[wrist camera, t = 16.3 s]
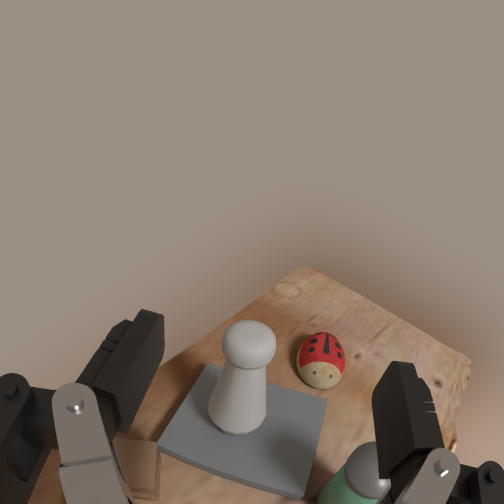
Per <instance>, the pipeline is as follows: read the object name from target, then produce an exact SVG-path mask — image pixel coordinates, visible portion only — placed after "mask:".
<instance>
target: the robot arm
mask: <svg viewBox="0 0 504 504" xmlns="http://www.w3.org/2000/svg"><path fill="white" fill-rule="evenodd" d="M164 345H165V342H164V316H163V315H162V314H158V313H155V312H152V311H148V310H144V309H142V310H140V312H139V313H138V315H137V316H136V318H135V319H134V321H133V322H132V321H129V320H126V319H125V320H123V321H122V322H120V323H119V324H117V325H116V326H114V327H113V328H112V329H111V331H110V332H109V334H108V335H107V337H106V339H105V340H104V341H103V342H102V344H101V345H100V348H99V349H98V350H97V351H96V353H95V354H94V355H93V357H92V358H91V360H90V361H89V363H88V364H87V366H86V368H85V369H84V370H83V372H82V373H81V375H80V376H79V378H78V379H77V381H76V382H74V383H69V384H66V385H63V386H61V387H60V388H59V389H57V390H48V389H42V388H35V387H30V385H29V384H28V382H27V380H26V379H25V378H24V377H23V376H21V375H19V374H15V373H9V374H5V375H3V376H1V377H0V504H27V503H28V500H29V498H30V495H31V493H32V491H33V488H34V486H35V484H36V481H37V479H38V477H39V475H40V472H41V470H42V468H43V466H44V464H45V461H46V459H47V457H48V455H49V453H50V451H51V449H52V448H53V449H59V451H60V456H61V465H60V466H59V476H60V480H61V484H62V488H63V492H64V496H65V499H66V503H67V504H136V503H135V500H134V498H133V496H132V494H131V492H130V489H129V487H128V484H127V482H126V479H125V476H124V474H123V471H122V468H121V465H120V462H119V459H118V456H117V453H116V450H115V447H114V444H113V441H112V440H113V438H114V436H115V434H116V432H117V431H120V432H122V433H125V434H127V433H128V430H129V428H130V426H131V424H132V422H133V420H134V417H135V415H136V413H137V411H138V409H139V407H140V405H141V402H142V400H143V398H144V396H145V394H146V392H147V390H148V388H149V386H150V383H151V381H152V379H153V377H154V375H155V373H156V371H157V369H158V367H159V365H160V362H161V360H162V357H163V353H164V347H165V346H164ZM372 410H373V418H374V427H375V437H376V447H377V458H378V471H379V479H390V481H391V485H390V486H389V487H388V488H387V489H386V490H385V492H384V493H383V495H382V496H381V497H380V499H379V500H378V501H377V503H376V504H504V470H503V469H502V467H501V466H500V465H499V464H498V463H496V462H494V461H487V462H485V463H483V464H482V465H481V466H479V468H475V467H470V466H466V465H463V464H460V463H459V460H458V458H457V457H456V455H455V454H454V453H453V452H451V451H450V450H448V449H445V447H444V443H443V439H442V434H441V430H440V426H439V422H438V418H437V414H436V413H435V411H436V410H435V407H434V403H433V399H432V396H431V392H430V389H429V388H428V386H427V385H426V383H425V382H424V380H423V379H422V378H418V376H417V373H416V369H415V366H414V364H413V363H408V362H399V361H392V362H391V363H390V365H389V366H388V368H387V369H386V371H385V373H384V374H383V376H382V377H381V379H380V380H379V382H378V384H377V385H376V387H375V389H374V391H373V395H372Z"/></svg>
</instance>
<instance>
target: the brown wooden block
mask: <svg viewBox="0 0 504 504" xmlns="http://www.w3.org/2000/svg"><path fill="white" fill-rule="evenodd" d="M112 441H113V444H114V447H115V450H116V453H117V456H118V459H119V462H120V465H121V468H122V471H123V474H124V476H125V479H126V482H127V484H128V487H129V489H130V492H131V494H132V496H133V498H136V499H144V500H152V501H159V484H160V466H161V457H160V453H159V449H158V444H157V442H152V441H143V440H135V439H127V438H120V437H114V438H113V440H112Z"/></svg>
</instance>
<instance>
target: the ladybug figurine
mask: <svg viewBox="0 0 504 504" xmlns="http://www.w3.org/2000/svg"><path fill="white" fill-rule="evenodd" d="M296 363H297V369H298V372H299V374H300V376H301V378H302V379H303V380H304V381H305V382H306V383H307V384H308V385H309V386H311V387H313V388H316V389H328V388H331V387H333V386H334V385H336V384H337V383H338V382H339V381H340V379H341V378H342V376H343V373H344V368H345V357H344V352H343V349H342V347H341V345H340V343H339V341H338V340H337V339H336V338H335V337H334V336H333V335H332V334H330V333H327V332H319V333H316V334H314V335H312V336H311V337H309V338H308V339H307V340H306V341H305V342H304V343H303V344H302V345H301V347H300V349H299V351H298V354H297V360H296Z"/></svg>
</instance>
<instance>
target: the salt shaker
mask: <svg viewBox="0 0 504 504" xmlns="http://www.w3.org/2000/svg"><path fill="white" fill-rule="evenodd" d="M275 351H276V339H275V335H274V333H273V332H272V331H271V329H270V328H269V327H267V326H266V325H264V324H262V323H261V322H257V321H253V320H242V321H239V322H236V323H233V324H231V325H230V326H229V327H228V328H227V329H226V330H225V332H224V335H223V340H222V352H223V354H224V356H225V357H226V359H227V361H226V363H225V365H224V368H223V370H222V372H221V375H220V377H219V379H218V381H217V384H216V386H215V388H214V391H213V393H212V395H211V398H210V400H209V406H208V413H209V415H210V417H211V419H212V421H213V423H214V424H215V425H217V426H218V427H219V428H220V429H222V430H223V432H224V433H225V434H227V435H238V436H244V435H246V434H248V433H249V432H251V431H253V430H255V429H256V428H258V427H259V426H260V425H261V423H262V422H263V420H264V418H265V417H266V365H268V363H269V362H270V361H271V359H272V358H273V356H274V354H275Z"/></svg>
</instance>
